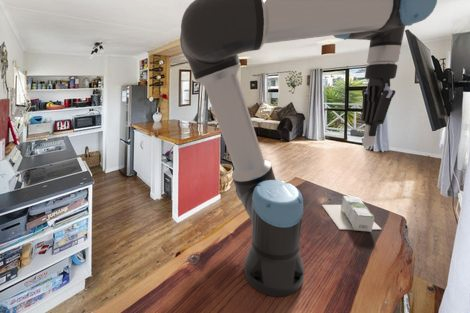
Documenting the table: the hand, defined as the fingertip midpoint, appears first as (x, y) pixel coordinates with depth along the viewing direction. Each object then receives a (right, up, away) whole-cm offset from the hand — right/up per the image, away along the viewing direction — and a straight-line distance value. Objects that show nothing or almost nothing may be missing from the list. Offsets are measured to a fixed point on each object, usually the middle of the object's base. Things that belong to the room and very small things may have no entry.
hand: (367, 145), depth 72 cm
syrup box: (+1, -25, +3) cm, 26 cm away
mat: (+1, -26, +14) cm, 29 cm away
